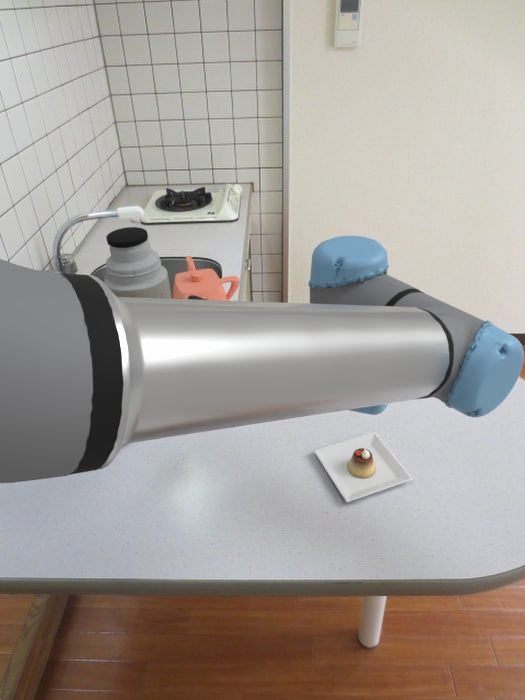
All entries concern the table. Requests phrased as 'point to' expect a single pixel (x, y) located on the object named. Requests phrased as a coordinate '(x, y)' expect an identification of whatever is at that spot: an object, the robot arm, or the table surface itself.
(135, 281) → the thermos bottle
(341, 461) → the dessert
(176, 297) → the pot
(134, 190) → the table surface
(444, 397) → the robot arm
